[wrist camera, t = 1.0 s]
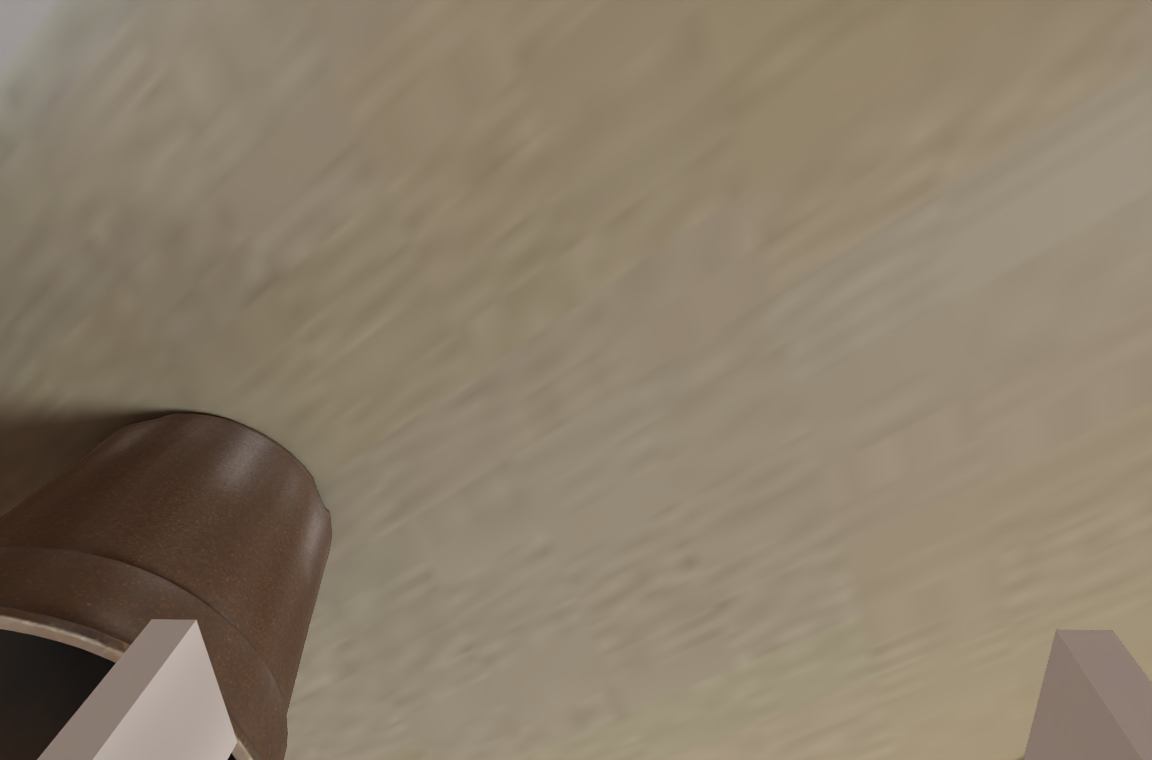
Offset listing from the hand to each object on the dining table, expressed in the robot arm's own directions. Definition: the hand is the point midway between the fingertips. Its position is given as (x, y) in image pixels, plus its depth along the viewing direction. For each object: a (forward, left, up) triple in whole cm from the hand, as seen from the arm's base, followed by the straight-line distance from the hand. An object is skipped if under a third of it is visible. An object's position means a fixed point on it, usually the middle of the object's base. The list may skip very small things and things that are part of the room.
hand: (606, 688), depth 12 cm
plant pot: (+20, -11, -24) cm, 33 cm away
